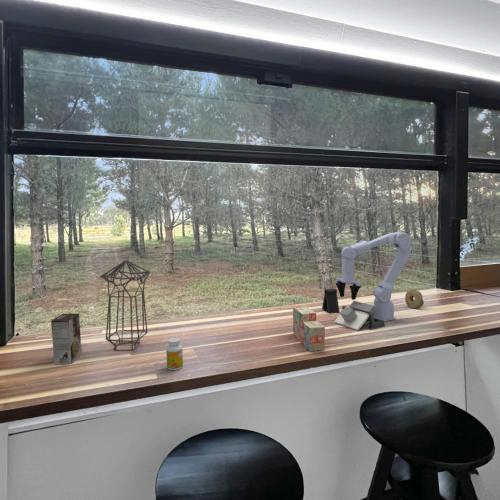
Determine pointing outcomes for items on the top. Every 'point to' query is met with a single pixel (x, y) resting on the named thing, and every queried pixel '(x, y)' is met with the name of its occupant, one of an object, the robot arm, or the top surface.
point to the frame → (372, 320)
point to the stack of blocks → (308, 328)
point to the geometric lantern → (122, 265)
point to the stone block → (348, 314)
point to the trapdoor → (360, 316)
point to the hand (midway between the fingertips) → (347, 298)
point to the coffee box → (66, 338)
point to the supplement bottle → (174, 354)
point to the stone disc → (418, 299)
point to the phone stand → (330, 301)
